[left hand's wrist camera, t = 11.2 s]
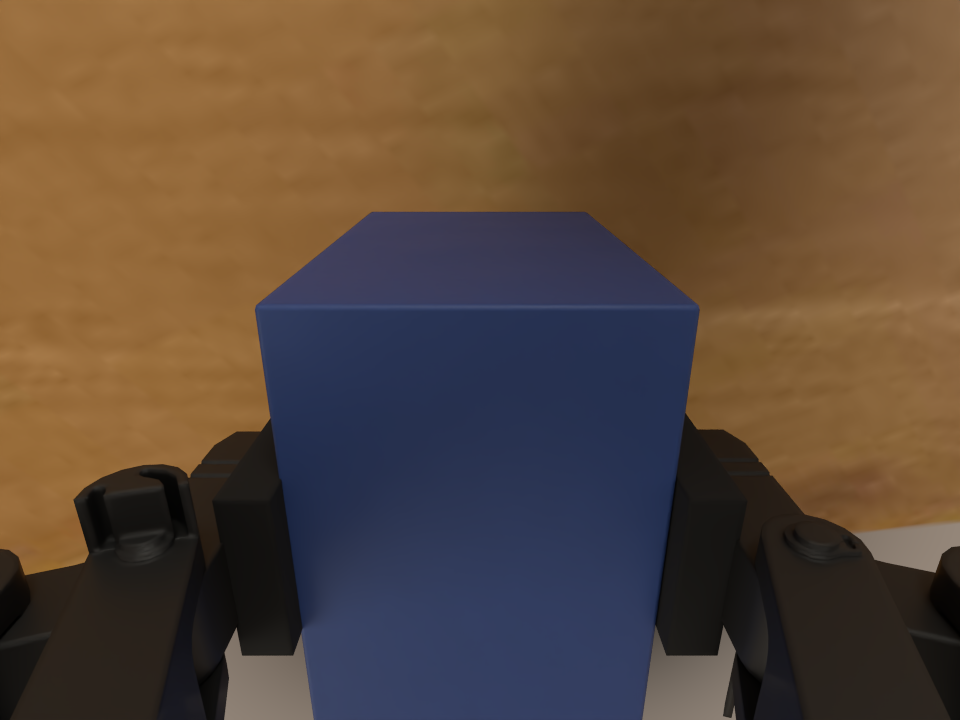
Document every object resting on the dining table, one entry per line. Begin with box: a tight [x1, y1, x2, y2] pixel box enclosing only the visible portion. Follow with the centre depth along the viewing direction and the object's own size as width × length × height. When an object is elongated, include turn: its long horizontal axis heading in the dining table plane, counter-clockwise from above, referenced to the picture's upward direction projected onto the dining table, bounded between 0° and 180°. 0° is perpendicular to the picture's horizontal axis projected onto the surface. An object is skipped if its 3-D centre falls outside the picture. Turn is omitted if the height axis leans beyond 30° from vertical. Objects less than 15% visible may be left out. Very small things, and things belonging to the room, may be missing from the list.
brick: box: [255, 212, 700, 720], centre depth 13 cm, size 8×6×8 cm
